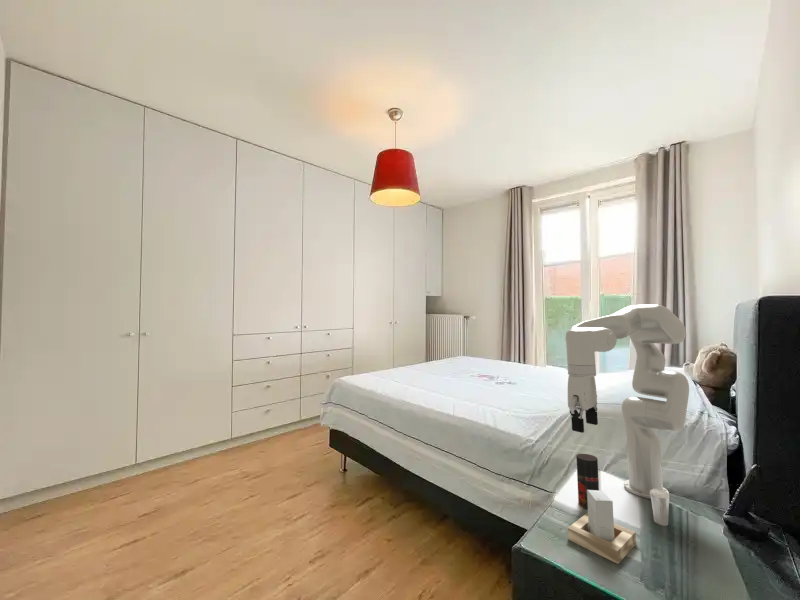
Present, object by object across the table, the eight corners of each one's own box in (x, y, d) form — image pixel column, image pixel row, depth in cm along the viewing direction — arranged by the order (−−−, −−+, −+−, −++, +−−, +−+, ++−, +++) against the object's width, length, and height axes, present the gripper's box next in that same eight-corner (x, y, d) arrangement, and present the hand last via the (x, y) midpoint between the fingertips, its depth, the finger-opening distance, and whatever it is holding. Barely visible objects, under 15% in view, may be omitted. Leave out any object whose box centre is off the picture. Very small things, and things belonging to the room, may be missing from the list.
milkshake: (672, 521, 99) (670, 485, 100) (670, 529, 95) (668, 492, 96) (652, 515, 102) (651, 480, 103) (650, 522, 98) (648, 487, 99)
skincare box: (615, 550, 87) (613, 501, 88) (598, 548, 87) (595, 500, 88) (604, 535, 93) (602, 490, 94) (588, 534, 93) (586, 489, 94)
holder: (588, 523, 98) (587, 512, 99) (636, 543, 89) (635, 532, 89) (568, 539, 91) (567, 527, 91) (618, 564, 82) (617, 551, 82)
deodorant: (602, 511, 104) (600, 461, 105) (581, 509, 105) (579, 460, 106) (595, 501, 110) (593, 454, 111) (576, 500, 111) (574, 453, 112)
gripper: (580, 365, 111) (584, 418, 110) (555, 372, 100) (559, 431, 99) (606, 367, 105) (610, 423, 104) (582, 375, 94) (586, 438, 93)
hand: (585, 427), depth 102 cm, fingers open, 9 cm apart
